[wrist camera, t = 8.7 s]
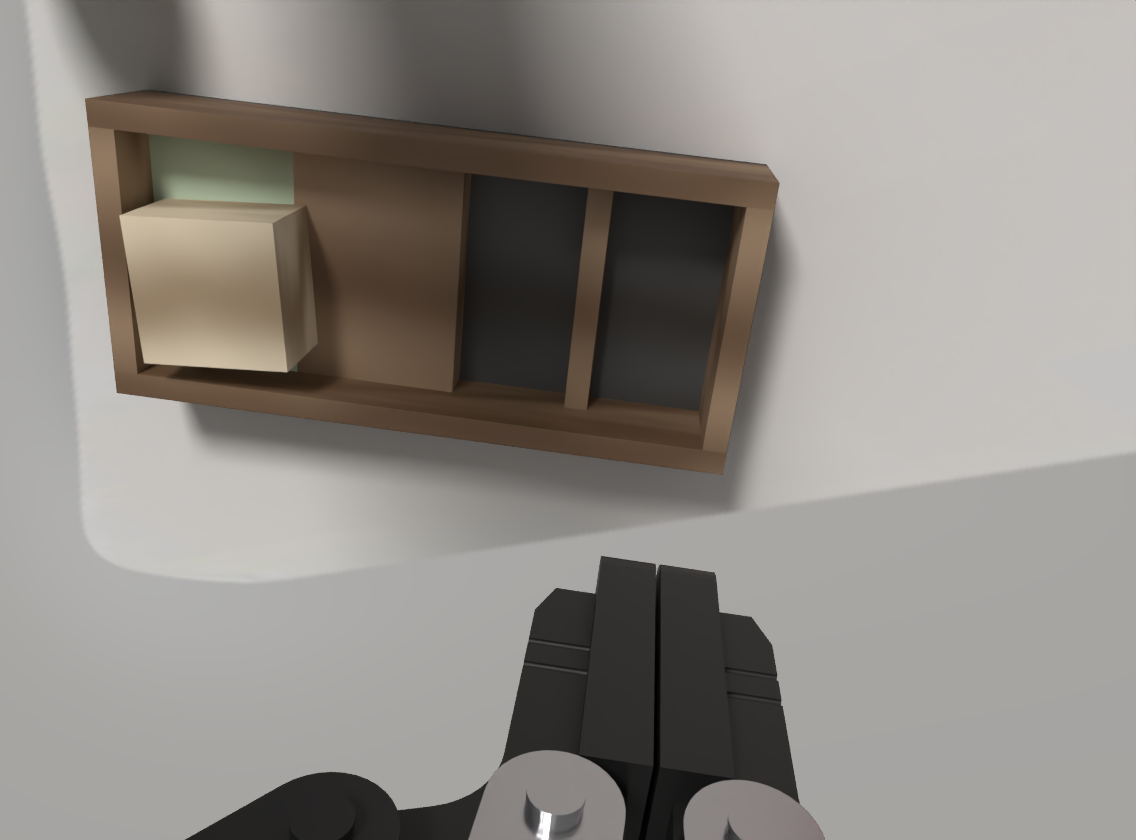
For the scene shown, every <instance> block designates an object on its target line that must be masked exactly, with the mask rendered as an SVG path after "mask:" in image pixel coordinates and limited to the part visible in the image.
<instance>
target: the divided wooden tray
mask: <svg viewBox="0 0 1136 840" xmlns="http://www.w3.org/2000/svg"><path fill="white" fill-rule="evenodd" d="M85 102H86V111H87V121H88V130H89V139H90V148H91V158H92V167H93V176H94V185H95V195H96V204H97V213H98V223H99V232H100V241H101V250H102V260H103V269H104V278H105V287H106V297H107V306H108V315H109V324H110V334H111V343H112V352H113V361H114V371H115V380H116V389H117V393H122V394H129V395H137V396H144V397H151V398H159V399H166V400H173V401H181V402H188V403H196V404H203V405H210V406H218V407H225V408H233V409H240V410H247V411H255V412H262V413H270V414H277V415H284V416H292V417H299V418H306V419H314V420H321V421H329V422H336V423H343V424H351V425H358V426H366V427H373V428H380V429H388V430H395V431H403V432H410V433H417V434H425V435H432V436H440V437H447V438H454V439H462V440H469V441H476V442H484V443H491V444H499V445H506V446H513V447H521V448H528V449H536V450H543V451H550V452H558V453H565V454H573V455H580V456H587V457H595V458H602V459H610V460H617V461H624V462H632V463H639V464H646V465H654V466H661V467H669V468H676V469H683V470H691V471H698V472H706V473H713V474H720V475H722V474H723V468H724V463H725V458H726V453H727V448H728V443H729V438H730V433H731V428H732V423H733V417H734V412H735V407H736V402H737V397H738V392H739V387H740V382H741V377H742V372H743V366H744V361H745V356H746V351H747V346H748V341H749V336H750V331H751V326H752V321H753V316H754V310H755V305H756V300H757V295H758V290H759V285H760V280H761V275H762V270H763V265H764V259H765V254H766V249H767V244H768V239H769V234H770V229H771V224H772V219H773V214H774V208H775V203H776V198H777V193H778V188H779V182H778V180H777V179H776V177H775V176H774V175H773V173H772V172H771V170H770V169H769V167H768V166H767V165H766V164H758V163H749V162H741V161H733V160H724V159H716V158H708V157H700V156H691V155H683V154H675V153H666V152H658V151H650V150H642V149H633V148H625V147H617V146H608V145H600V144H592V143H584V142H575V141H567V140H559V139H550V138H542V137H534V136H526V135H517V134H509V133H501V132H492V131H484V130H476V129H468V128H459V127H451V126H443V125H434V124H426V123H418V122H410V121H401V120H393V119H385V118H376V117H368V116H360V115H352V114H343V113H335V112H327V111H318V110H310V109H302V108H294V107H285V106H277V105H269V104H260V103H252V102H244V101H236V100H227V99H219V98H211V97H202V96H194V95H186V94H178V93H169V92H161V91H153V90H142V91H135V92H128V93H121V94H114V95H107V96H101V97H94V98H87V99H85ZM165 198H172V199H193V200H213V201H233V202H253V203H273V204H293V205H306V208H307V220H308V232H309V244H310V255H311V267H312V279H313V290H314V302H315V314H316V326H317V337H318V344H317V345H316V346H314V347H313V348H312V349H311V350H310V351H309V352H308V353H307V354H306V355H305V356H304V357H303V358H302V359H301V360H300V361H299V362H298V363H297V364H296V365H295V366H294V367H293V368H292V369H290V370H289V371H288V372H274V371H258V370H242V369H227V368H211V367H195V366H179V365H163V364H148V363H144V359H143V353H142V348H141V342H140V336H139V330H138V324H137V318H136V312H135V306H134V300H133V294H132V288H131V282H130V276H129V270H128V264H127V258H126V253H125V247H124V241H123V235H122V229H121V223H120V217H119V215H122V214H124V213H127V212H130V211H133V210H135V209H138V208H141V207H143V206H146V205H149V204H151V203H154V202H157V201H160V200H162V199H165Z"/></svg>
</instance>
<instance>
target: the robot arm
mask: <svg viewBox="0 0 1136 840" xmlns="http://www.w3.org/2000/svg"><path fill="white" fill-rule="evenodd" d="M186 840H825V838H824V835H823V832H822V831H821V829H820V827H819V826H818V824H817V823H816V821H815V820H814V819H813V817H812V816H811V815H810V814H809V812H808V811H806V810H805V809H804V808H803V807H802V806H801V805H800V803H799V799H798V793H797V788H796V781H795V775H794V770H793V764H792V758H791V753H790V746H789V741H788V735H787V729H786V723H785V717H784V712H783V706H781V695H780V688H779V682H778V681H777V672H776V665H775V659H774V653H773V648H772V644H771V643H770V642H769V640H768V639H767V638H766V636H765V635H764V634H763V632H762V631H761V630H760V628H759V627H758V625H757V624H756V623H755V621H754V620H753V619H752V617H748V616H741V615H734V614H728V613H720V612H719V604H718V593H717V582H716V575H715V573H714V572H707V571H700V570H694V569H687V568H680V567H673V566H666V565H659V567H658V571H657V575H656V565H655V564H652V563H645V562H638V561H631V560H624V559H618V558H611V557H605V556H601V560H600V566H599V573H598V580H597V587H596V593H595V594H593V593H586V592H579V591H573V590H566V589H559V588H556V589H555V590H554V591H553V592H552V593H551V594H550V595H549V596H548V597H547V598H546V599H545V600H544V601H543V602H542V603H541V604H540V605H539V606H538V607H537V608H536V609H535V612H534V617H533V622H532V626H531V631H530V636H529V642H528V645H527V650H526V654H525V659H524V665H523V669H522V673H521V678H520V683H519V687H518V692H517V697H516V701H515V706H514V711H513V715H512V720H511V725H510V729H509V734H508V739H507V743H506V748H505V753H504V756H503V759H502V762H501V764H500V766H499V768H498V769H497V770H496V771H495V772H494V774H493V775H492V777H491V778H490V779H489V781H488V782H487V783H486V784H484V785H483V786H482V787H481V788H479V789H478V790H477V791H475V792H473V793H472V794H470V795H468V796H466V797H464V798H462V799H459V800H456V801H454V802H450V803H448V804H442V805H437V806H431V807H423V808H414V809H406V810H398V811H397V808H396V806H395V804H394V802H393V801H392V799H391V798H390V797H389V795H388V794H387V793H386V792H385V791H384V790H382V789H381V788H380V787H379V786H378V785H376V784H375V783H373V782H371V781H369V780H368V779H365V778H362V777H360V776H357V775H352V774H347V773H339V772H326V773H316V774H311V775H306V776H303V777H300V778H297V779H294V780H292V781H290V782H288V783H285V784H283V785H281V786H279V787H278V788H276V789H274V790H273V791H271V792H269V793H267V794H265V795H264V796H262V797H260V798H258V799H256V800H255V801H253V802H251V803H249V804H248V805H246V806H244V807H243V808H240V809H239V810H237V811H235V812H233V813H232V814H230V815H228V816H226V817H225V818H223V819H221V820H219V821H218V822H216V823H214V824H212V825H210V826H209V827H207V828H205V829H203V830H202V831H200V832H198V833H196V834H195V835H193V836H191V837H189V838H187V839H186Z"/></svg>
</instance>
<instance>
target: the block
mask: <svg viewBox="0 0 1136 840" xmlns="http://www.w3.org/2000/svg"><path fill="white" fill-rule="evenodd" d="M119 217H120V223H121V229H122V235H123V241H124V247H125V253H126V258H127V264H128V270H129V276H130V282H131V288H132V294H133V300H134V306H135V312H136V318H137V324H138V330H139V336H140V342H141V348H142V353H143V359H144V363H148V364H163V365H179V366H195V367H211V368H227V369H242V370H258V371H274V372H288V371H289V370H290V369H292V368H293V367H294V366H295V365H296V364H297V363H298V362H299V361H300V360H301V359H302V358H303V357H304V356H305V355H306V354H307V353H308V352H309V351H310V350H311V349H312V348H313V347H314V346H316V345H317V344H318V337H317V326H316V314H315V302H314V290H313V279H312V267H311V255H310V244H309V232H308V220H307V208H306V205H293V204H273V203H253V202H233V201H213V200H193V199H172V198H165V199H162V200H160V201H157V202H154V203H151V204H149V205H146V206H143V207H141V208H138V209H135V210H133V211H130V212H127V213H124V214H122V215H119Z"/></svg>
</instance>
